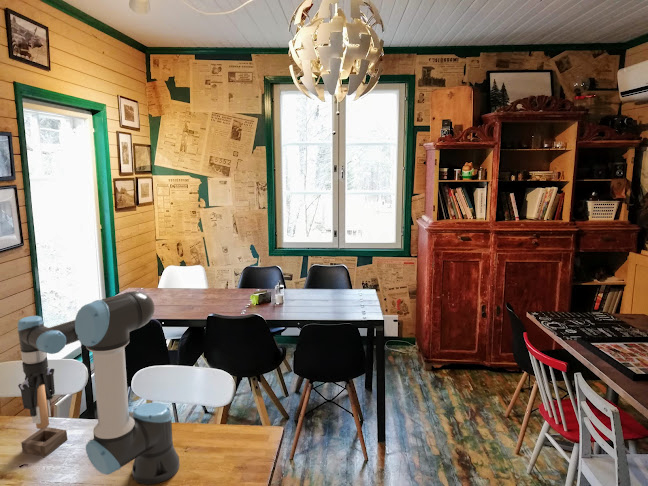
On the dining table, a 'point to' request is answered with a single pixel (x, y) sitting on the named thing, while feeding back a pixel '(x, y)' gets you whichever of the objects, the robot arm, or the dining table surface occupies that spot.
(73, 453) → the dining table surface
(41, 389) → the peg
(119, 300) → the robot arm
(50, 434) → the socket block
